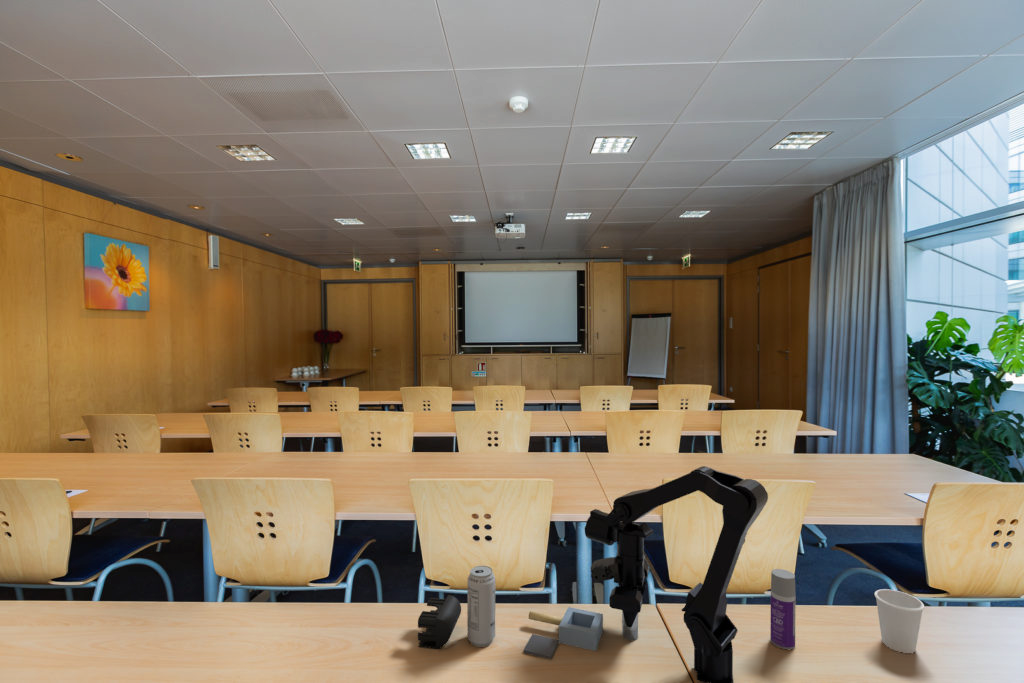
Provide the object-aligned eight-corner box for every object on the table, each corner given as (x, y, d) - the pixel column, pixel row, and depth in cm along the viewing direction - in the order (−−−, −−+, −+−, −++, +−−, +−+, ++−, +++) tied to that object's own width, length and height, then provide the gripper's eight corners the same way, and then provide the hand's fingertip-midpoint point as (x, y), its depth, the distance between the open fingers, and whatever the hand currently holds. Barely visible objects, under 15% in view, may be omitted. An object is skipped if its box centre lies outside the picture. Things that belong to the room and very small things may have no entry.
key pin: (638, 633, 109) (639, 592, 109) (637, 641, 106) (637, 600, 106) (623, 629, 111) (623, 589, 110) (621, 638, 107) (621, 597, 107)
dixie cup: (893, 657, 101) (893, 609, 101) (865, 633, 109) (865, 588, 109) (934, 658, 101) (935, 609, 101) (903, 634, 109) (903, 589, 109)
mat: (558, 642, 106) (558, 639, 106) (551, 659, 100) (551, 656, 100) (532, 636, 108) (532, 633, 108) (523, 652, 102) (523, 650, 102)
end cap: (449, 652, 103) (449, 620, 103) (417, 649, 104) (417, 617, 104) (461, 624, 113) (461, 595, 113) (431, 622, 114) (431, 593, 114)
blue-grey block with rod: (602, 629, 110) (602, 613, 110) (595, 651, 103) (595, 633, 103) (535, 615, 116) (535, 600, 116) (523, 634, 109) (523, 618, 109)
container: (770, 646, 105) (770, 575, 105) (770, 634, 109) (770, 566, 109) (795, 652, 103) (796, 580, 102) (794, 640, 107) (795, 571, 107)
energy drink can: (498, 645, 105) (498, 575, 105) (470, 650, 103) (470, 579, 103) (491, 629, 111) (491, 562, 110) (465, 634, 109) (465, 566, 109)
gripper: (601, 530, 120) (601, 594, 120) (585, 563, 102) (584, 638, 102) (648, 537, 116) (648, 603, 116) (639, 572, 98) (639, 650, 99)
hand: (630, 622), depth 108 cm, fingers closed on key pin, 3 cm apart
